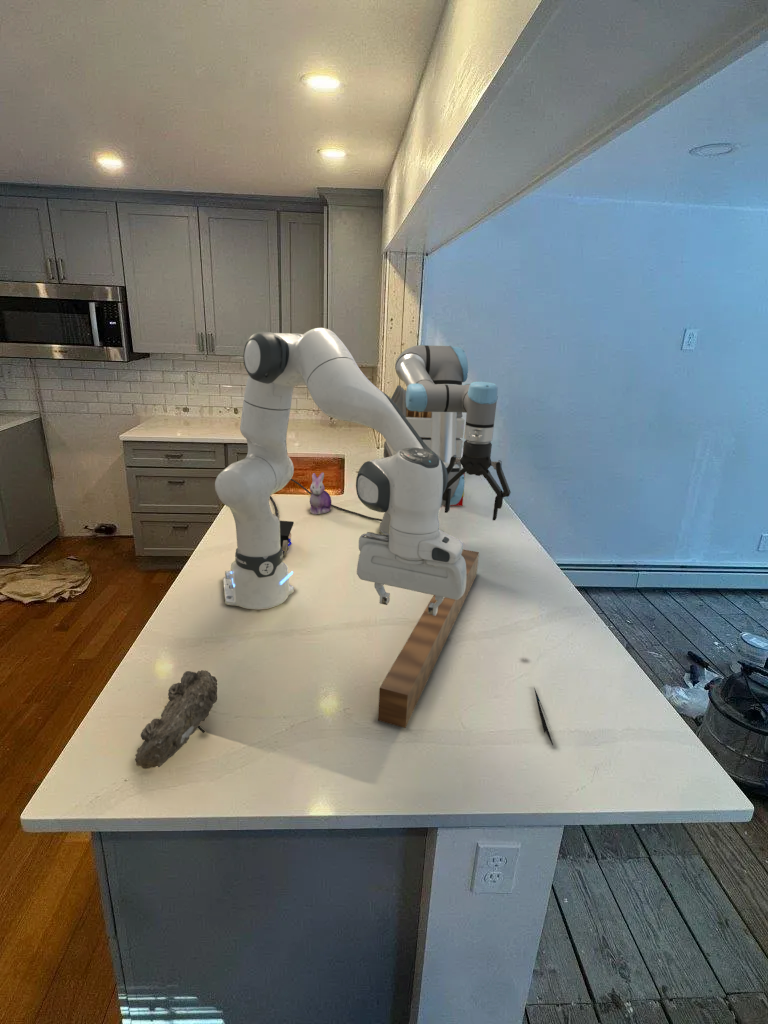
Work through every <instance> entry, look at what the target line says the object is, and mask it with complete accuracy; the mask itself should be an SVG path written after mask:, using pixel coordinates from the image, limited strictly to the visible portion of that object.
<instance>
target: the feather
mask: <svg viewBox="0 0 768 1024" xmlns="http://www.w3.org/2000/svg"><path fill="white" fill-rule="evenodd" d="M525 660H527V659H526V658H524V661H525ZM533 690H534V693H535V700H536V704H537V708H538V712H539V717H540V721H541V725H542V729H543V733H544V734H545V733H546V734H545V735H547V737H548V739H549V741H550V743H551V745H552V746H554V743H553V741H552V737H551V734H553V733H552V732H553V731H550V730H549V729H548V728H550V727H551V725H550V723H547V722H546V721H548V717H547V715H544V713H545V710H544V707H543V705H542V703H541V699H540V697H539V695H538V693H537V691H536V688H535V687H533ZM547 724H548V725H547ZM548 726H549V727H548ZM551 728H552V727H551ZM550 732H551V734H550Z"/></svg>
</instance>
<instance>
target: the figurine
mask: <svg viewBox="0 0 768 1024" xmlns="http://www.w3.org/2000/svg"><path fill="white" fill-rule="evenodd" d="M324 478H325V473H324V472H321V473H319V475H318V476H317V474H316V473H315V472H313V473H312V474H311V481H312V482H311V484H310V487H309V492H311V493H312V495H311V494H310V496H309V506H310V508H309V511H310V514H313V515H322V514H327V513H329V512H331V508H332V506H331V504H332V498H331V495H330V493H329V492H327V491H326V490H325V489H326V488H325V485H324V483H323V481H324Z"/></svg>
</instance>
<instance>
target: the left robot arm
mask: <svg viewBox="0 0 768 1024" xmlns="http://www.w3.org/2000/svg"><path fill="white" fill-rule="evenodd" d="M243 366H244V369H245V371H246V373H247V375H248V376H247V379H246V384H245V389H244V394H243V401H242V408H241V415H240V417H241V418H240V425H239V430H240V433H241V435H242V436H243V437H244V438H245V439H246V444H247V454H246V456H245V458H243V459H240V460H238V461H235V462H232V463H231V464H229V465H228V466H227V467H225V468H223V470H222V471H221V472H220V473H219V474H218V475H217V477H216V478H215V481H214V491H215V493H216V496H217V498H218V499H219V501H220V502H221V503H222V504H223V505H225V506H226V507H227V508H229V510H230V512H231V514H232V517H233V519H234V523H235V533H236V534H235V535H236V548H235V553H234V557H235V558H234V560H233V561H232V562H231V563H230V570H225V571H224V575H225V576H224V577H223V578H222V584H223V594H224V603H225V605H227V606H237V607H240V608H243V609H246V610H247V609H248V610H266V609H271V608H275V607H277V606H280V605H281V604H283V603H284V602H286V601H287V600H288V598H289V596H290V595H291V594H293V593H294V592H295V587H294V586H293V585H292V584H290V579H289V578H290V577H291V576H292V575H293V574H294V571H293V570H291V572H289V567H288V564H286V563H285V562H284V561H283V556H284V555H283V551H282V547H281V546H280V521H281V520H280V519H279V512H278V511H279V510H278V508H277V507H278V506H277V504H276V502H275V500H274V499H273V497H272V495H274V494H275V493H277V492H279V491H281V490H283V489H284V488H285V487H286V486H287V485H288V484H289V482H290V481H292V480H291V479H293V476H294V473H295V469H294V463H293V461H292V459H291V457H290V456H289V454H288V446H287V445H288V443H287V437H288V436H287V435H288V429H289V428H288V427H289V421H290V415H291V408H292V400H293V393H294V389H295V388H296V386H306V388H307V391H308V393H309V394H310V396H311V398H312V400H313V402H314V403H315V405H316V407H317V408H318V409H319V410H320V411H321V412H322V413H323V414H325V415H326V416H328V417H330V418H332V419H334V420H338V421H343V422H348V423H354V424H357V425H362V426H365V427H368V428H370V429H373V430H374V431H376V432H377V433H379V434H380V435H381V436H382V437H383V438H384V440H385V439H386V441H387V442H388V444H389V445H390V446H391V448H392V449H393V451H394V452H395V453H396V454H395V455H393V456H390V457H386V458H384V457H380V458H374V459H371V460H367V461H365V462H363V463H362V465H361V466H360V467H359V470H358V471H357V476H356V479H355V491H356V496H357V498H358V499H359V501H360V502H361V503H362V504H363V505H364V506H365V507H366V508H367V509H369V510H371V511H374V512H377V513H385V512H386V513H389V515H390V516H391V520H390V527H389V535H384V534H380V533H375V532H373V531H367V532H366V533H362V534H361V535H360V536H359V538H358V551H359V555H358V559H357V565H356V566H357V567H356V575H357V577H358V579H360V580H362V581H366V582H370V583H374V586H373V587H374V589H375V591H376V593H377V594H378V596H379V600H378V601H379V604H380V605H383V606H384V605H385V606H387V605H389V603H390V601H391V598H390V597H391V593H390V592H387V591H386V589H385V586H389V587H395V588H400V589H403V590H408V591H414V592H417V593H423V594H427V595H431V596H433V595H435V600H437V601H436V602H435V603H432V602H431V603H430V605H429V606H428V605H427V606H428V614H429V615H434V616H436V614H437V612H438V606H439V605H440V604H441V603H442V601H443V600H444V598H445V597H446V598H450V599H455V600H458V599H459V598H461V597H462V596H463V594H464V592H465V589H466V577H467V575H466V562H465V559H464V557H463V556H462V555H461V554H462V551H463V549H464V545H465V544H464V542H463V540H461V539H459V538H457V537H455V536H453V535H452V534H449V533H447V532H445V531H444V530H442V529H441V528H440V527H441V525H440V520H439V513H440V509H441V507H442V505H441V504H442V495H443V493H444V492H445V489H446V487H447V483H448V473H447V469H446V467H445V465H444V463H443V461H442V460H441V459H440V457H439V456H438V455H437V454H436V453H435V452H433V451H432V450H431V449H430V448H429V447H428V446H427V445H426V444H425V443H424V442H423V440H422V439H421V438H420V436H419V435H418V434H417V432H416V431H415V430H414V428H413V427H412V425H411V424H410V423H409V421H408V420H407V419H406V417H405V416H404V415H403V413H402V412H401V411H400V409H399V408H398V407H397V405H396V404H395V403H394V402H393V401H392V399H391V398H392V397H390V396H389V395H388V394H387V393H385V392H384V391H382V390H380V389H379V388H378V387H377V386H376V385H375V384H374V383H372V381H370V380H369V378H368V377H367V376H366V375H365V374H364V373H363V372H362V370H361V368H360V367H359V365H358V364H357V362H356V360H355V358H354V357H353V354H352V353H351V351H350V350H349V349H348V348H347V346H346V345H345V343H344V342H343V341H342V340H341V338H339V336H338V335H337V334H336V333H335V332H334V331H333V330H331V329H329V328H325V327H315V328H312V329H309V330H307V331H305V332H304V333H298V332H293V333H289V332H272V331H262V332H257V333H256V332H255V333H253V334H252V335H250V337H249V338H248V340H247V341H246V343H245V345H244V347H243ZM386 441H385V442H386ZM270 500H271V502H272V504H273V507H274V510H275V514H274V513H273V512H272V508H271V505H270Z"/></svg>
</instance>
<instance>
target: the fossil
mask: <svg viewBox="0 0 768 1024" xmlns="http://www.w3.org/2000/svg"><path fill="white" fill-rule="evenodd" d="M167 698H168V701H167V703H166V705H165V706H164V708H163V709H162V712H161V714H160V718H157V717H156V718H153V719H152V720H151V721H150V722H149V723H147V724H146V725H145V727H144V728H143V729H142V731H141V733H140V738H141V740H142V743H141V744H140V746H139V747H138V748H137V749H136V753H135V755H134V756H135V757H134V762H135V764H136V766H137V767H141V768H142V769H143V770H144V769H145V770H146V769H151V768H156V767H157V768H161V767H162V766H163V765H165V763H166V762H167V761H168V760H169V759H171V758H172V757H173V756H174V755H175V754H177V752H178V751H179V750H180V749H181V748H182V747H184V746H185V744H187V743H188V741H189V739H190V737H191V736H192V735H193V734H195V732H196V731H197V730H199V731H200V732H201V733H202V734H205V733H206V730H205V729H204V728H203V726H201V723H202V722H205V721H206V720H207V718H208V717H209V716H210V712H211V711H212V709H213V707H214V705H215V703H217V702H218V679H217V677H216V676H215V675H212V674H211V672H209V670H206V669H205V670H203V669H202V670H198V671H197V672H195V671H191V670H185V672H183V674H182V677H181V678H180V682H177V683H173V684H172V685H171V686H170V687H169V688H168V693H167Z"/></svg>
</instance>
